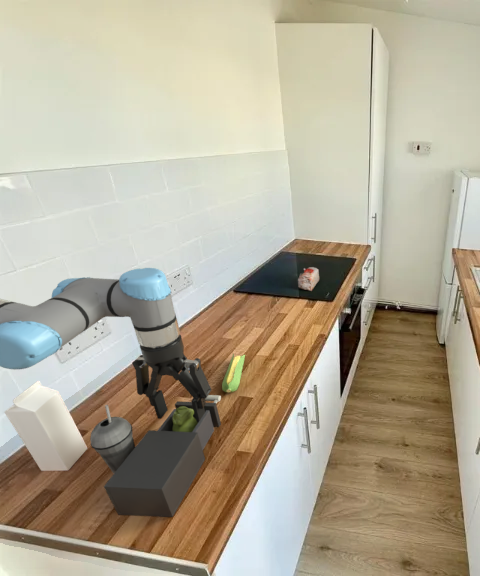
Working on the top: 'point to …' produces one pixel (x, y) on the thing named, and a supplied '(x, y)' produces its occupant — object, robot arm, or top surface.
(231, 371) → the edible corn
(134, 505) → the cabinet
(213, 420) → the drawer
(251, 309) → the top surface
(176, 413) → the pear
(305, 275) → the food item
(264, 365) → the top surface
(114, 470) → the beverage cup
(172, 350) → the robot arm
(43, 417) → the milk
